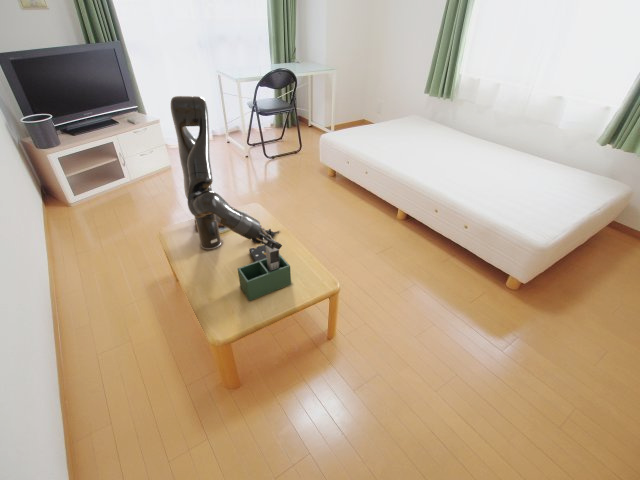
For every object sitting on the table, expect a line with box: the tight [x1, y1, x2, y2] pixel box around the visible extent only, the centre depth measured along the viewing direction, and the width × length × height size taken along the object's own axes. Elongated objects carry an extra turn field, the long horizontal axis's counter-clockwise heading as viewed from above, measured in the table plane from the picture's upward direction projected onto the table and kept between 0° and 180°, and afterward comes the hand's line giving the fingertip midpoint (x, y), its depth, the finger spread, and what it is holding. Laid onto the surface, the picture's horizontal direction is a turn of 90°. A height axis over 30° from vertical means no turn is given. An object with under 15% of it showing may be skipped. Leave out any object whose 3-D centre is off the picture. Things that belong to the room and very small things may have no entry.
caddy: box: [237, 253, 292, 302], centre depth 136 cm, size 10×18×10 cm, turn 123°
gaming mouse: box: [251, 229, 280, 244], centre depth 166 cm, size 6×15×4 cm, turn 129°
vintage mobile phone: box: [265, 228, 280, 272], centre depth 133 cm, size 4×5×25 cm
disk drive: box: [248, 244, 267, 263], centre depth 152 cm, size 10×3×15 cm
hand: (275, 241), depth 130 cm, fingers open, 8 cm apart
